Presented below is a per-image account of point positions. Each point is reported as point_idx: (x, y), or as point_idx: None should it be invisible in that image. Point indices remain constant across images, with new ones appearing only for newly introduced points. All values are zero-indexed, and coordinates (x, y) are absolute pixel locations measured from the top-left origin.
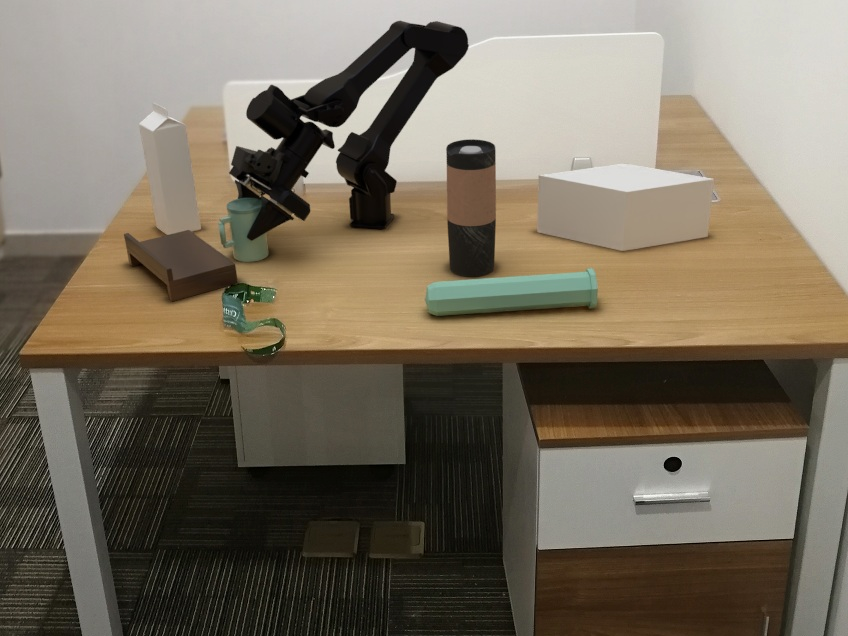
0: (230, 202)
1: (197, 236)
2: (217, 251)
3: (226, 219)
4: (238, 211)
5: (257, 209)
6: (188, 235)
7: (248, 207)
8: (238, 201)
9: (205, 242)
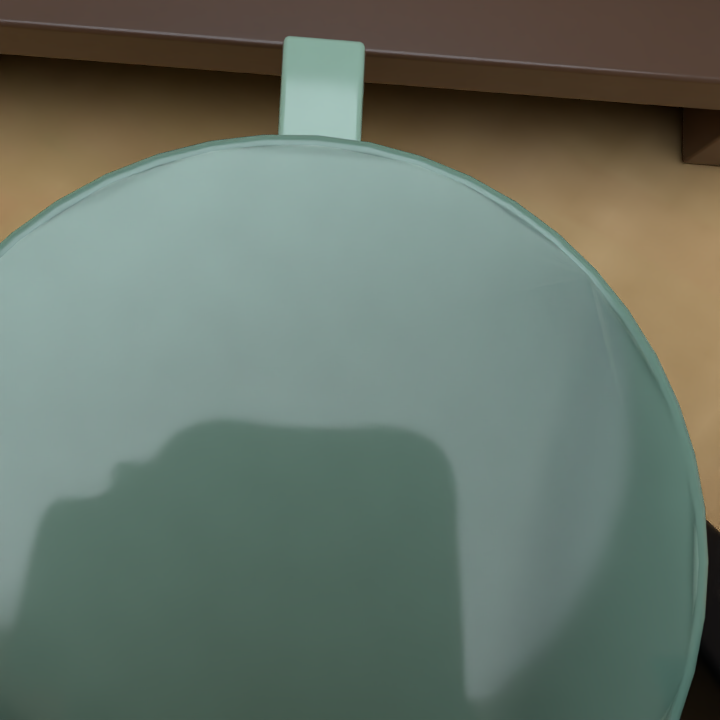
0: (604, 343)
1: (640, 68)
2: (147, 23)
3: (281, 131)
4: (22, 230)
5: None
6: (716, 15)
7: (18, 503)
8: (543, 513)
9: (446, 52)
